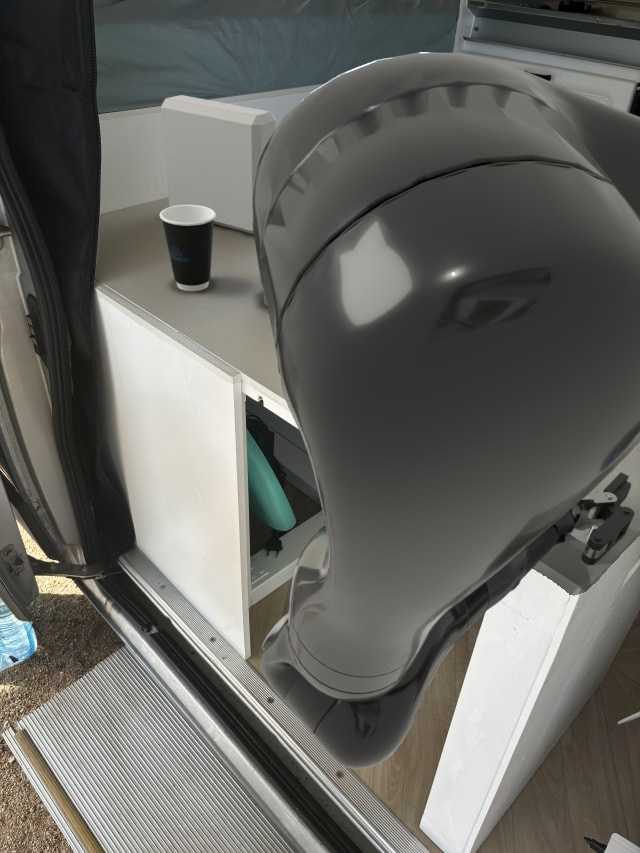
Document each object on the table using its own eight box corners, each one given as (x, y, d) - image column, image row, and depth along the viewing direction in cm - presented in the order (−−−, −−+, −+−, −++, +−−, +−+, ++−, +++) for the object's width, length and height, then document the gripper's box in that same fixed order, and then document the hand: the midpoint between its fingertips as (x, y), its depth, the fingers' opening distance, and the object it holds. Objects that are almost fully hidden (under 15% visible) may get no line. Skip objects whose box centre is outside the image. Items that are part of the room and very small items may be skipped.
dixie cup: (219, 274, 104) (216, 204, 97) (218, 296, 98) (214, 223, 91) (168, 273, 103) (162, 203, 97) (164, 295, 97) (156, 222, 90)
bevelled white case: (281, 226, 122) (283, 110, 110) (257, 239, 117) (256, 118, 105) (193, 203, 130) (185, 92, 118) (166, 213, 125) (155, 98, 113)
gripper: (579, 566, 45) (669, 464, 55) (416, 466, 53) (520, 393, 63) (551, 632, 50) (638, 527, 59) (405, 531, 57) (503, 453, 67)
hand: (578, 458), depth 61 cm, fingers open, 8 cm apart
